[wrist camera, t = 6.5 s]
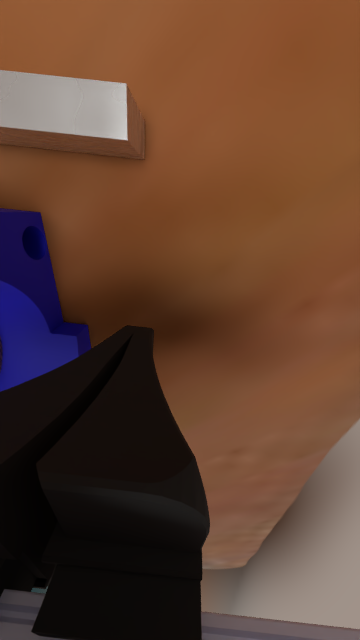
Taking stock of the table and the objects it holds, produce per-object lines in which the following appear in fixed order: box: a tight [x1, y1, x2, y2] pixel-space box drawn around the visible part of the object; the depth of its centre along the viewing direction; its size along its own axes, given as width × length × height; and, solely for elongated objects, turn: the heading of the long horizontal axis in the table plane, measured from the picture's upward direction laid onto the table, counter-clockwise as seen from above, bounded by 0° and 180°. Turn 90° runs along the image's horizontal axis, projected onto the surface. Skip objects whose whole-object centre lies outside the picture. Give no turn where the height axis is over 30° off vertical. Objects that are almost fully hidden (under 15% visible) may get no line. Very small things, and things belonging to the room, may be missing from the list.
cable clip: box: [0, 208, 91, 392], centre depth 10 cm, size 12×4×6 cm, turn 174°
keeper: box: [0, 70, 145, 372], centre depth 10 cm, size 9×18×3 cm, turn 174°
